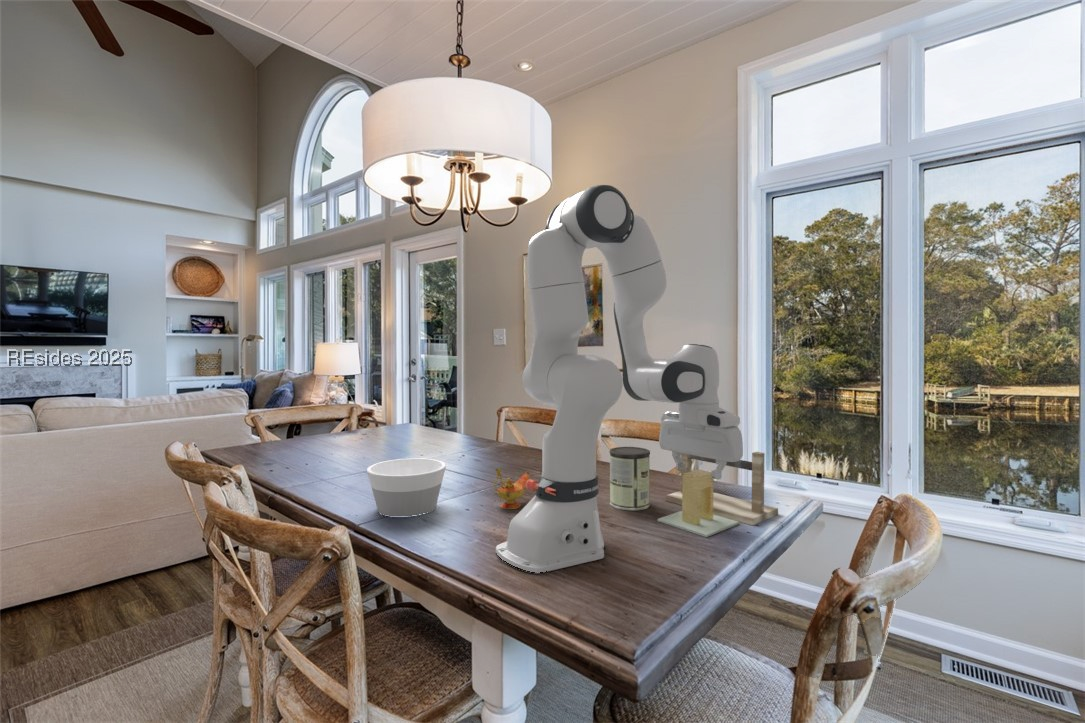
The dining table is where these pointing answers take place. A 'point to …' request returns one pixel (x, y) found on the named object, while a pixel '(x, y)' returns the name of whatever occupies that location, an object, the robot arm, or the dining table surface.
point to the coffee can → (629, 478)
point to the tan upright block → (697, 496)
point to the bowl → (406, 485)
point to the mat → (705, 525)
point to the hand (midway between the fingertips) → (698, 474)
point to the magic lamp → (511, 490)
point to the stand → (730, 505)
